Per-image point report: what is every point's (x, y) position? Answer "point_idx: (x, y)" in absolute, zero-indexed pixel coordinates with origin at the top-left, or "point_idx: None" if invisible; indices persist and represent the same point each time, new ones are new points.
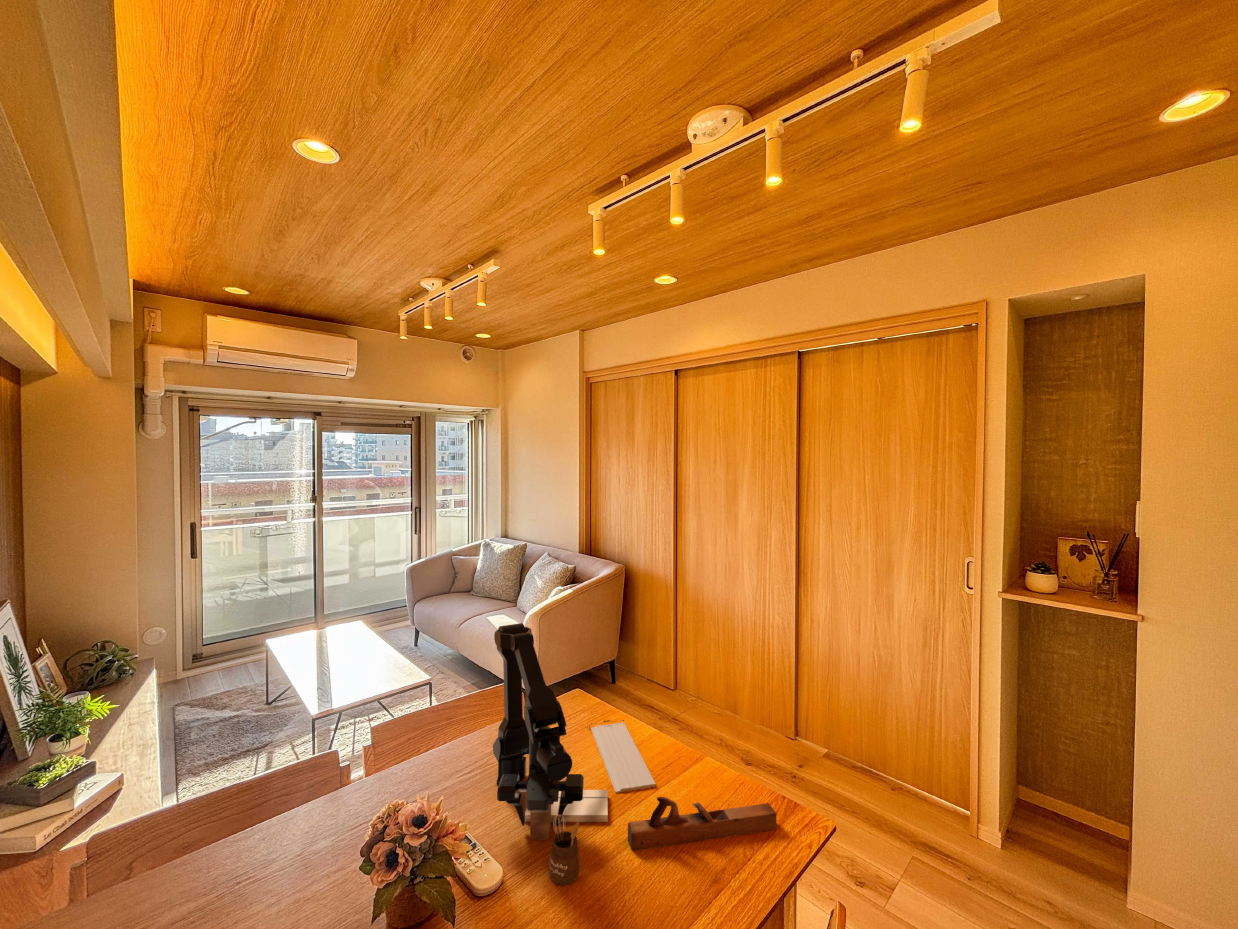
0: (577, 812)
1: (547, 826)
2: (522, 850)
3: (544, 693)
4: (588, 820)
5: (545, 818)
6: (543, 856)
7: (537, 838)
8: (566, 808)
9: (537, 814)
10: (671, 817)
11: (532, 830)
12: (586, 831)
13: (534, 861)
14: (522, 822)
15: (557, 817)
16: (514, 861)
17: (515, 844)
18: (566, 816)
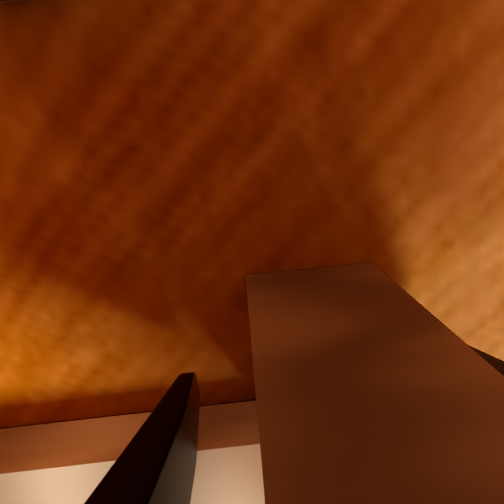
0: (82, 482)
1: (263, 339)
2: (426, 155)
3: None
4: (21, 435)
5: (308, 417)
6: (250, 97)
7: (324, 272)
8: None
9: (479, 474)
10: None
11: (393, 300)
12: (5, 364)
13: (322, 23)
14: (490, 361)
15: (170, 443)
16: (500, 12)
17: (474, 211)
18: None
